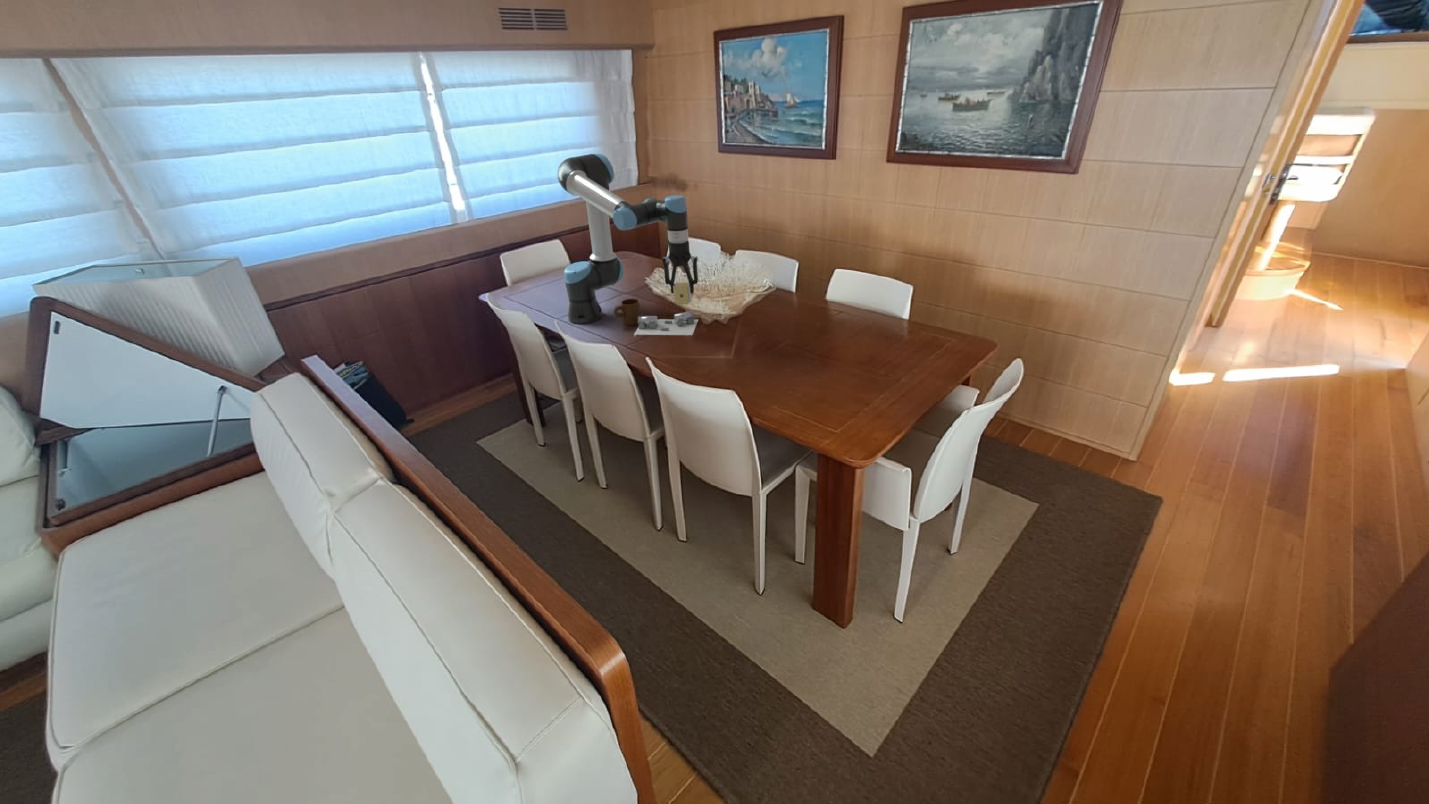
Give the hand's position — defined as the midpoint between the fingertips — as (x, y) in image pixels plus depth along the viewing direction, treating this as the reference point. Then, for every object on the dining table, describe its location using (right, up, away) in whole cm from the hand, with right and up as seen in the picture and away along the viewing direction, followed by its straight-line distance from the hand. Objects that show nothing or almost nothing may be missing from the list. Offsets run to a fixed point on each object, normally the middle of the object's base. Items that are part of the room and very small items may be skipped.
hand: (683, 300), depth 211 cm
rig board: (-7, -9, +13) cm, 18 cm away
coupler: (0, -1, 0) cm, 0 cm away
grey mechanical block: (-15, -8, +14) cm, 22 cm away
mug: (-25, -6, +20) cm, 33 cm away
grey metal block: (0, -7, +15) cm, 16 cm away
